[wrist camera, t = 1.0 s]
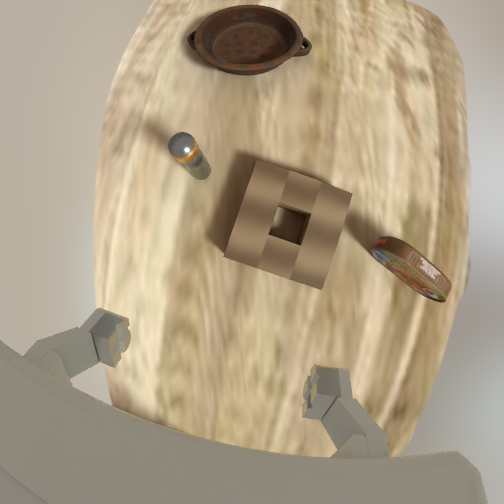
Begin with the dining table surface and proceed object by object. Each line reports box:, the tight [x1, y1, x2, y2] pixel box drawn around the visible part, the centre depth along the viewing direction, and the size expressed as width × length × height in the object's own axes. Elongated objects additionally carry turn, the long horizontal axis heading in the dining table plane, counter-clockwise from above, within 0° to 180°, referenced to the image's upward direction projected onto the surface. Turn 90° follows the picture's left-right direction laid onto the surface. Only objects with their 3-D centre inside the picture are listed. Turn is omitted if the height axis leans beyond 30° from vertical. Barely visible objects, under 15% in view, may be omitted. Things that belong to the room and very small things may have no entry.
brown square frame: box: [224, 160, 352, 290], centre depth 40 cm, size 14×14×4 cm
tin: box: [371, 236, 451, 302], centre depth 37 cm, size 15×3×8 cm, turn 56°
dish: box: [187, 5, 312, 75], centre depth 39 cm, size 17×22×5 cm
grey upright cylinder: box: [169, 132, 211, 180], centre depth 36 cm, size 3×3×12 cm
